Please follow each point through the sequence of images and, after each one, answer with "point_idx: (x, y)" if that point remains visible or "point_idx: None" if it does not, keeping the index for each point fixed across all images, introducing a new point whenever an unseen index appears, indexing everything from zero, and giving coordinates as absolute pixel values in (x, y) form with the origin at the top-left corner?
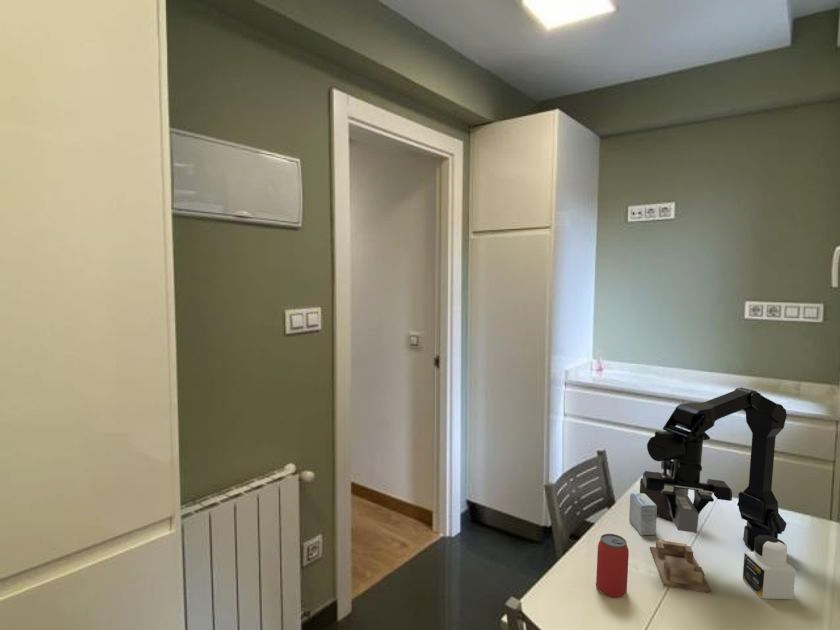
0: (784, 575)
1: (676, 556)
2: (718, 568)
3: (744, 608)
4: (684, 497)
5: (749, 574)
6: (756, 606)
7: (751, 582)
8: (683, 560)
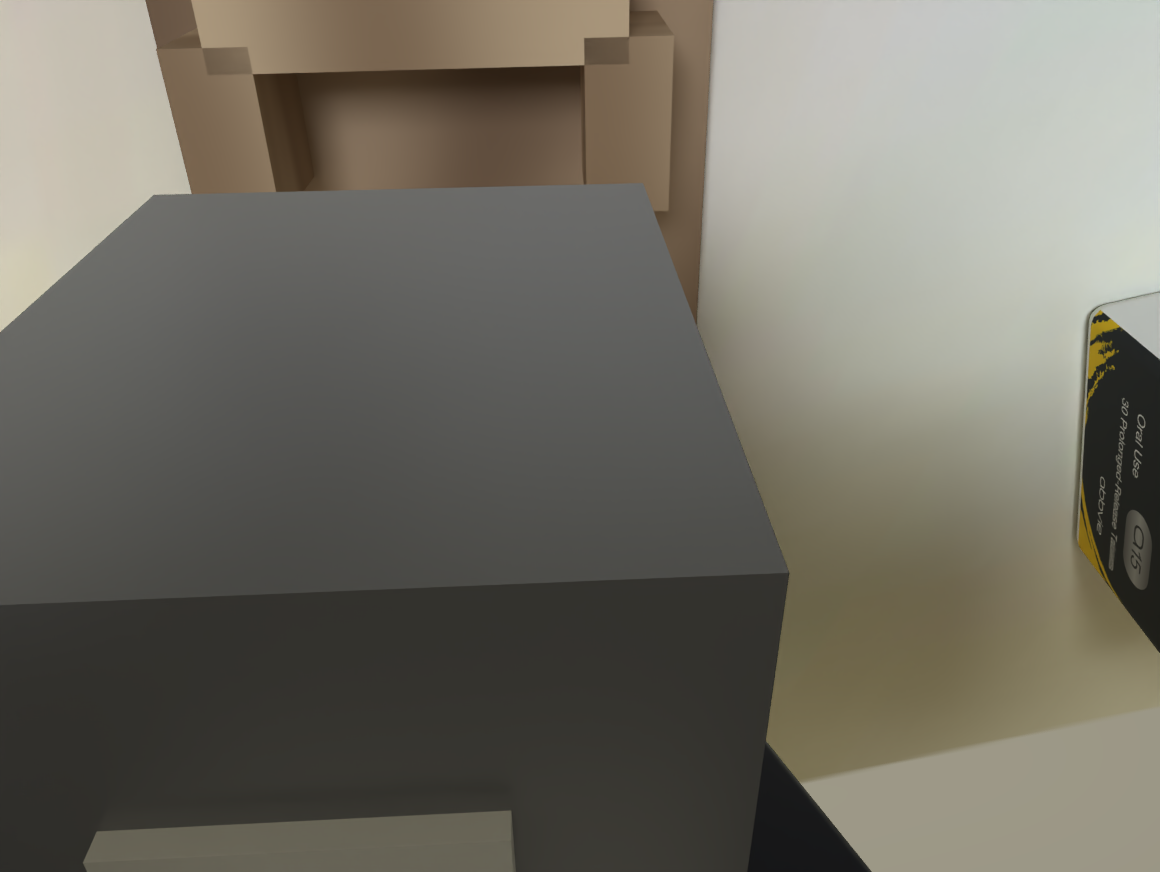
0: None
1: (477, 80)
2: (936, 150)
3: (860, 673)
4: (504, 756)
5: (1143, 469)
6: (967, 633)
7: (1108, 462)
8: (548, 162)
